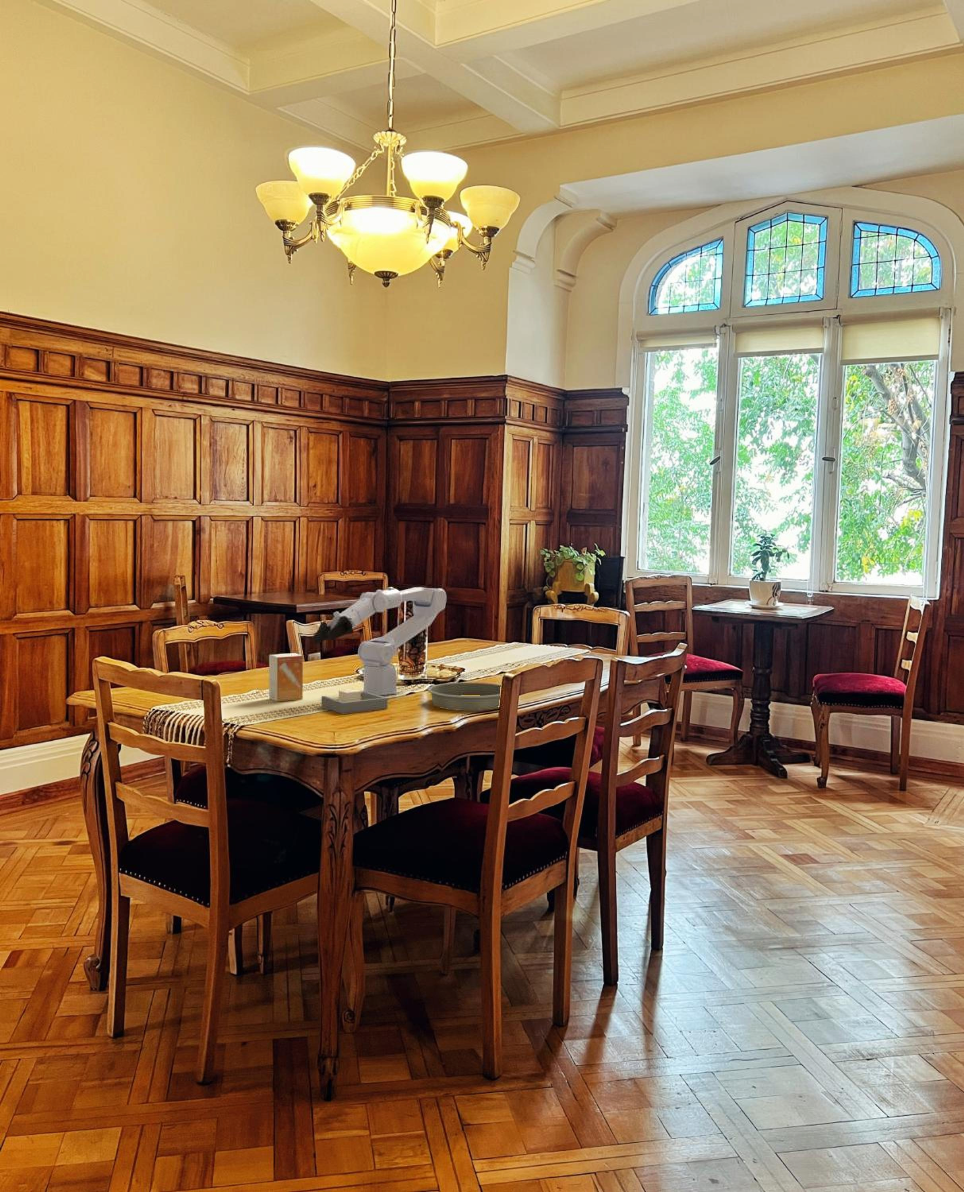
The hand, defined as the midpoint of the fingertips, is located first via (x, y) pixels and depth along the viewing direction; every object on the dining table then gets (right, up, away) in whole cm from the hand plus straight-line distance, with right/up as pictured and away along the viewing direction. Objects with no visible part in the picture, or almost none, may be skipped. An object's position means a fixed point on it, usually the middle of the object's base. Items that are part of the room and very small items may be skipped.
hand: (321, 639), depth 285 cm
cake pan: (+42, -19, +5) cm, 46 cm away
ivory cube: (+8, -19, -2) cm, 21 cm away
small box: (-12, -18, +9) cm, 23 cm away
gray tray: (+10, -19, -4) cm, 22 cm away
